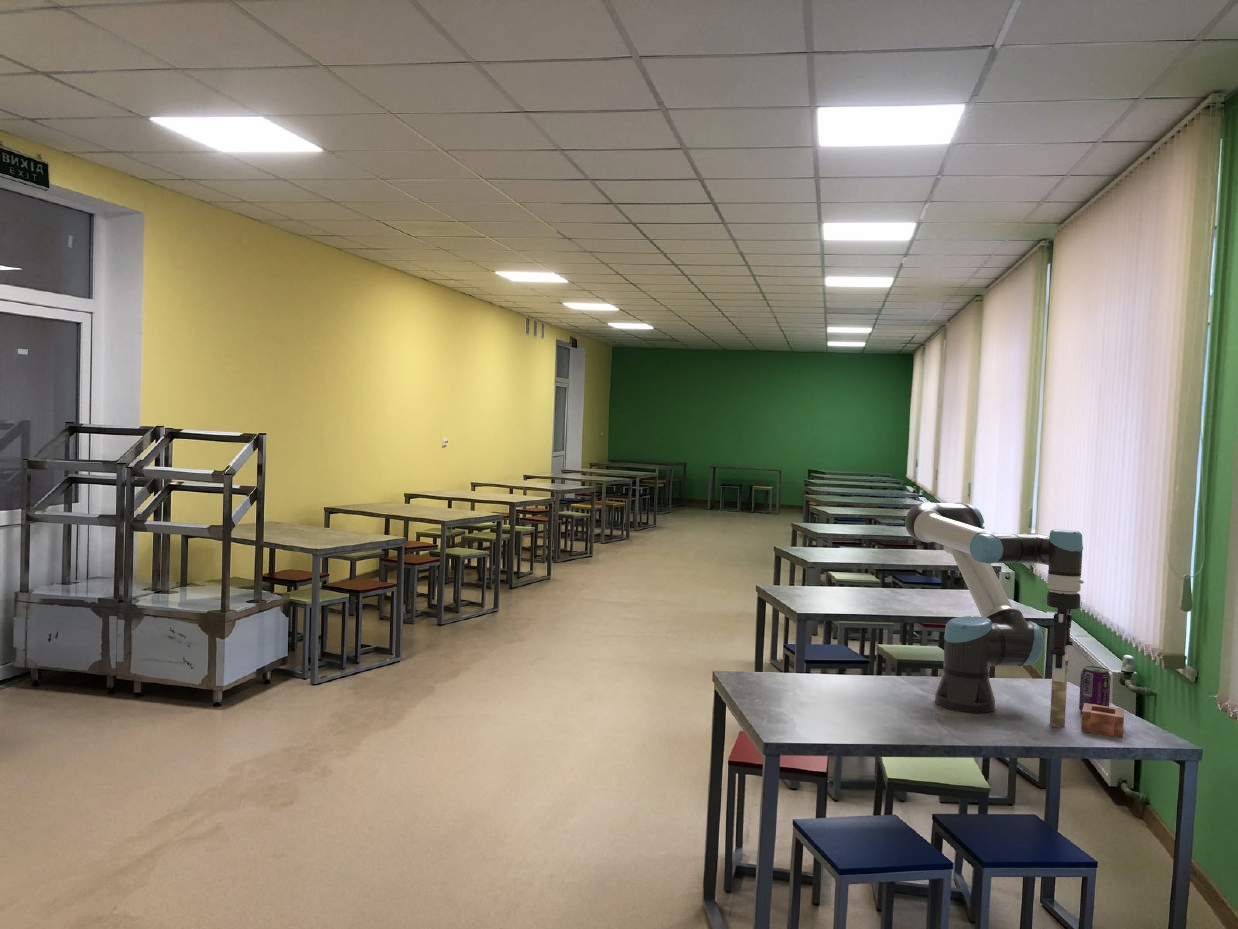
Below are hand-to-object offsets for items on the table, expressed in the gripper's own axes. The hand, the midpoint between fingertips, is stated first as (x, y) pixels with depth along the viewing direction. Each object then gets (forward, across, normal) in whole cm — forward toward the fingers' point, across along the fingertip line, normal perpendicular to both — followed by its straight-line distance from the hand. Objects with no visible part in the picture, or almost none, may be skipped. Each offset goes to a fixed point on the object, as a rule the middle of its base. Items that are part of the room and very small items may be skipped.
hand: (1060, 676), depth 232 cm
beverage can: (+13, +19, -7) cm, 24 cm away
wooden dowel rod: (+13, 0, 0) cm, 13 cm away
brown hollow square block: (+13, +3, -10) cm, 16 cm away
